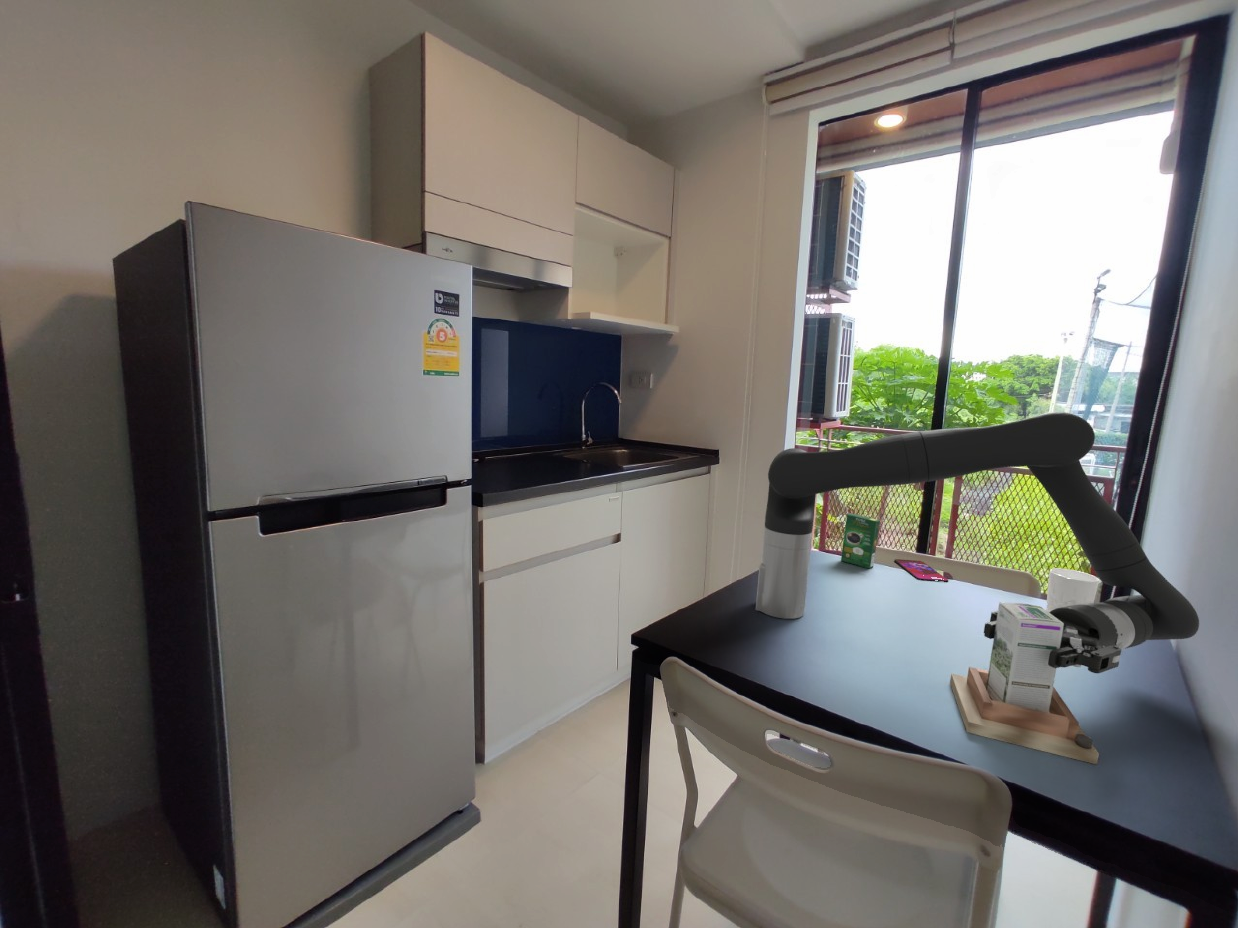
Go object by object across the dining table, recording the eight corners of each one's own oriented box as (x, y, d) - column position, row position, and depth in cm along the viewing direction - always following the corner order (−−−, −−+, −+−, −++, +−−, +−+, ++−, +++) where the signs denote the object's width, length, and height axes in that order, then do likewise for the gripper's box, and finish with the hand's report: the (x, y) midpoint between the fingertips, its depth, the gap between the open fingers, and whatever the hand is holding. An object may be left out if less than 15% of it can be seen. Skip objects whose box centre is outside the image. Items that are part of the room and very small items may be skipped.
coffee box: (875, 567, 142) (881, 518, 140) (870, 569, 140) (876, 520, 138) (844, 559, 148) (850, 512, 146) (840, 561, 146) (845, 513, 144)
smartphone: (917, 578, 134) (893, 558, 149) (917, 581, 134) (892, 561, 149) (950, 580, 133) (922, 560, 148) (949, 584, 133) (922, 563, 148)
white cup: (1032, 612, 117) (1040, 567, 115) (1066, 612, 118) (1074, 568, 116) (1065, 628, 109) (1074, 581, 108) (1101, 628, 110) (1110, 581, 108)
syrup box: (1049, 722, 74) (1068, 622, 72) (1001, 715, 75) (1018, 616, 73) (1026, 698, 80) (1043, 605, 77) (982, 692, 81) (997, 600, 78)
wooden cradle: (967, 732, 73) (971, 704, 73) (949, 682, 86) (953, 658, 86) (1096, 764, 68) (1102, 735, 68) (1058, 705, 81) (1062, 681, 80)
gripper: (1041, 588, 87) (971, 599, 81) (1154, 626, 74) (1082, 642, 68) (1033, 632, 88) (964, 646, 82) (1143, 677, 75) (1071, 698, 69)
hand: (1018, 644), depth 75 cm, fingers open, 8 cm apart
